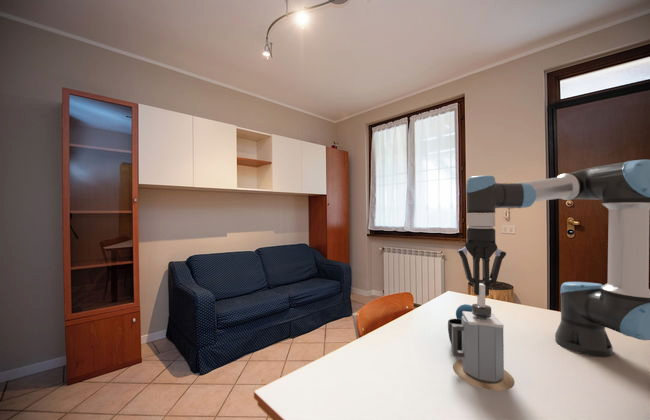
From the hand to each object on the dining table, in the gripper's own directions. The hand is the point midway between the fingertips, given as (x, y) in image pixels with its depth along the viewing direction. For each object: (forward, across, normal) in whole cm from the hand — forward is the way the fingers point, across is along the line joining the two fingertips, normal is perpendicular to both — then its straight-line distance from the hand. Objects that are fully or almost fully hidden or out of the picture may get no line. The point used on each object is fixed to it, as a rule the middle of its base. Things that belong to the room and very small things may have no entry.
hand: (481, 305), depth 82 cm
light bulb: (+21, -2, -28) cm, 35 cm away
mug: (+21, +1, -16) cm, 26 cm away
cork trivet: (+21, 0, 0) cm, 21 cm away
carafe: (+20, +1, 0) cm, 20 cm away
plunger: (+12, 0, 0) cm, 12 cm away
